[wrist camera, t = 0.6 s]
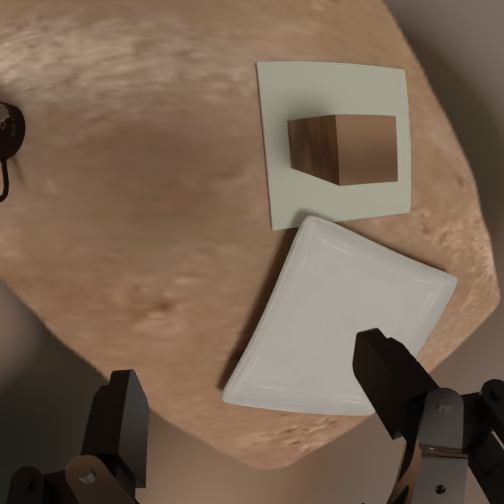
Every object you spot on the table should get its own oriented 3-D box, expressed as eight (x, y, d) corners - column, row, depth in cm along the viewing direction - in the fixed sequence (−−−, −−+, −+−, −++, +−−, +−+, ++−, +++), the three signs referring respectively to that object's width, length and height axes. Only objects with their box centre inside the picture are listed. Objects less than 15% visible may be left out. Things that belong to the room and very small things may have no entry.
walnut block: (287, 120, 30) (335, 114, 19) (331, 119, 31) (395, 115, 20) (291, 168, 32) (339, 186, 21) (335, 164, 33) (397, 181, 22)
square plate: (296, 204, 35) (307, 212, 31) (446, 270, 42) (462, 280, 39) (216, 386, 42) (218, 405, 38) (364, 403, 50) (373, 418, 46)
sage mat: (255, 63, 28) (256, 62, 28) (401, 70, 30) (404, 69, 30) (271, 229, 35) (272, 230, 34) (407, 211, 37) (410, 212, 36)
